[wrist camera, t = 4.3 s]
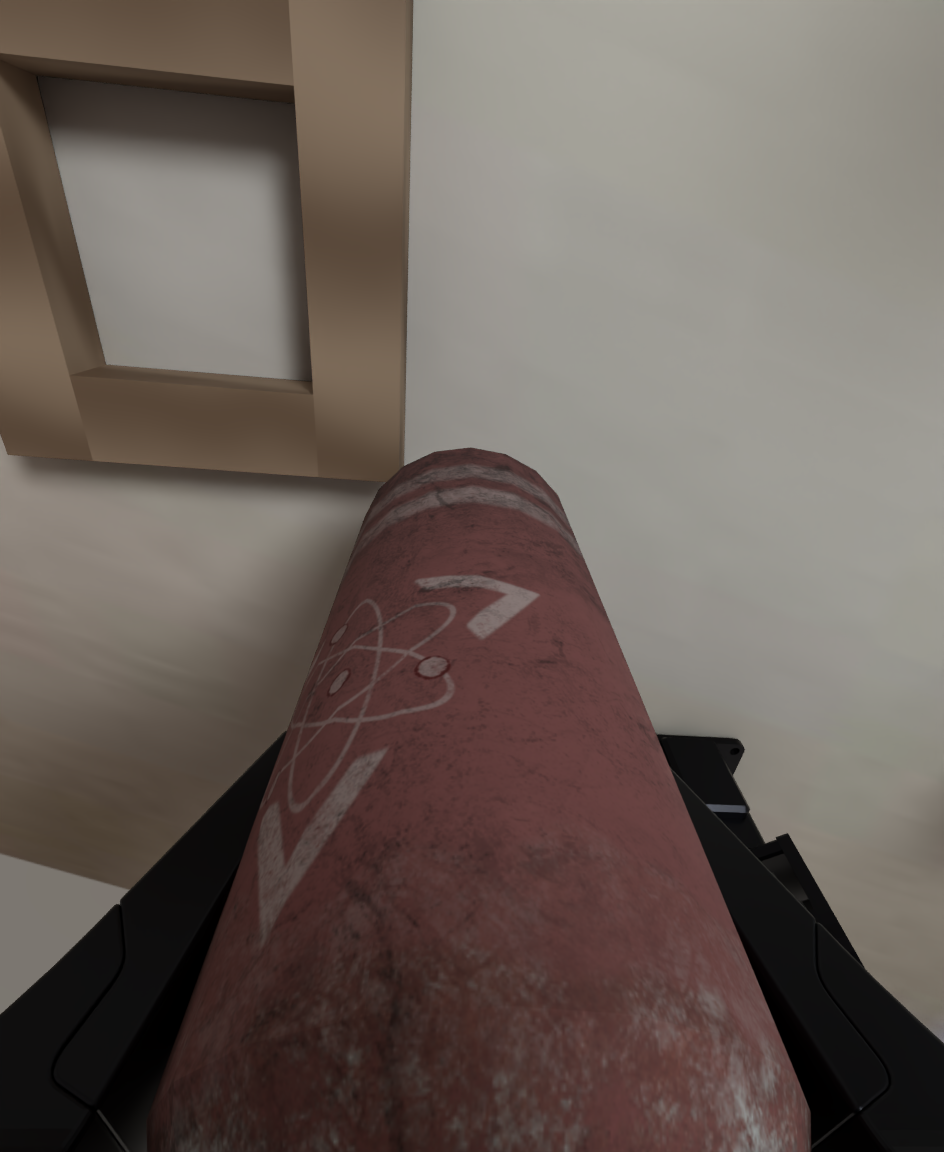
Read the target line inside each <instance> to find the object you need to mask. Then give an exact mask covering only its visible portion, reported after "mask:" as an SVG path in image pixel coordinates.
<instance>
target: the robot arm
mask: <svg viewBox="0 0 944 1152" xmlns="http://www.w3.org/2000/svg"><path fill="white" fill-rule="evenodd" d="M286 733H287V731H285V732H284V733H283V734H282V735H281V736H280V737H279V738H278V739H277V740H276V741H275V742H274V743H273V744H272V745H271V746H270V747H269V748H268V749H267V750H266V751H265V752H264V753H263V754H262V755H261V756H260V757H259V758H258V759H257V760H256V761H255V762H254V763H253V764H252V765H251V766H250V767H249V769H248V770H247V771H246V772H245V773H244V774H243V775H242V776H241V777H240V778H239V779H238V780H237V781H236V782H235V783H234V784H233V785H232V786H231V787H230V788H229V789H228V790H227V791H226V792H225V793H224V794H223V795H222V796H221V797H220V798H219V799H218V800H217V801H216V802H215V803H214V804H213V805H212V806H211V807H210V808H209V809H208V810H207V812H206V813H205V814H204V815H203V816H202V817H201V818H200V819H199V820H198V821H197V822H196V823H195V824H194V825H193V826H192V827H191V828H190V829H189V830H188V831H187V832H186V833H185V834H184V835H183V836H182V837H181V838H180V839H179V840H178V841H177V842H176V843H175V844H174V845H173V846H172V847H171V848H170V849H169V850H168V851H167V852H166V853H165V855H164V856H163V857H162V858H161V859H160V860H159V861H158V862H157V863H156V864H155V865H154V866H153V867H152V868H151V869H150V870H149V871H148V872H147V873H146V874H145V875H144V876H143V877H142V878H141V879H140V880H139V881H138V882H137V883H136V884H135V885H134V886H133V887H132V888H131V889H130V890H129V891H128V893H126V894H125V895H124V897H123V898H122V899H121V900H120V905H119V904H116V905H114V906H113V907H112V909H110V911H109V912H108V913H107V914H106V915H105V916H104V917H103V918H102V919H101V920H100V921H99V922H98V923H97V924H96V925H95V926H94V927H93V928H92V929H91V930H90V931H89V932H88V933H87V934H86V935H85V936H84V937H83V938H82V939H81V940H80V941H79V942H78V943H77V944H76V945H75V946H74V947H73V948H72V949H71V950H70V951H69V952H68V953H67V954H65V955H64V957H63V958H62V959H60V960H59V961H58V962H57V963H56V964H55V965H54V966H53V967H52V968H51V969H50V970H49V971H48V972H47V973H45V974H44V975H43V976H42V977H41V978H40V979H39V980H38V981H37V982H36V983H35V984H34V985H32V986H31V987H30V988H29V989H28V990H27V991H26V992H25V993H24V994H23V995H21V996H20V997H19V998H18V999H17V1000H16V1001H15V1002H14V1003H13V1004H12V1005H10V1006H9V1007H8V1008H7V1009H6V1010H5V1011H4V1012H3V1013H1V1014H0V1152H147V1130H146V1120H147V1117H148V1114H149V1111H150V1109H151V1106H152V1103H153V1100H154V1098H155V1095H156V1092H157V1089H158V1087H159V1084H160V1081H161V1078H162V1075H163V1073H164V1070H165V1067H166V1064H167V1062H168V1059H169V1056H170V1053H171V1051H172V1048H173V1045H174V1042H175V1040H176V1037H177V1034H178V1031H179V1029H180V1026H181V1023H182V1020H183V1018H184V1015H185V1012H186V1009H187V1006H188V1004H189V1001H190V998H191V995H192V993H193V990H194V987H195V984H196V982H197V979H198V976H199V973H200V971H201V968H202V965H203V962H204V960H205V957H206V954H207V951H208V948H209V946H210V943H211V940H212V937H213V935H214V932H215V929H216V926H217V924H218V921H219V918H220V915H221V913H222V910H223V907H224V904H225V902H226V899H227V897H228V894H229V892H230V889H231V887H232V884H233V881H234V879H235V876H236V873H237V870H238V868H239V865H240V862H241V859H242V856H243V853H244V850H245V847H246V844H247V841H248V838H249V835H250V833H251V830H252V827H253V824H254V821H255V819H256V816H257V813H258V810H259V808H260V805H261V802H262V799H263V797H264V794H265V791H266V788H267V786H268V783H269V780H270V777H271V775H272V772H273V769H274V766H275V764H276V761H277V758H278V755H279V752H280V750H281V747H282V744H283V741H284V739H285V736H286ZM657 738H658V740H659V743H660V745H661V748H662V750H663V752H664V755H665V757H666V760H667V762H668V765H669V767H670V769H671V772H672V774H673V777H674V779H675V782H676V784H677V786H678V789H679V791H680V794H681V796H682V799H683V801H684V804H685V806H686V808H687V811H688V813H689V816H690V818H691V821H692V823H693V825H694V828H695V830H696V833H697V835H698V838H699V840H700V842H701V845H702V847H703V850H704V852H705V855H706V857H707V859H708V862H709V864H710V867H711V869H712V872H713V874H714V877H715V879H716V881H717V884H718V886H719V889H720V891H721V894H722V896H723V898H724V901H725V903H726V906H727V908H728V911H729V913H730V915H731V918H732V920H733V923H734V925H735V928H736V930H737V932H738V935H739V937H740V940H741V942H742V945H743V947H744V949H745V952H746V954H747V957H748V959H749V962H750V964H751V967H752V969H753V971H754V974H755V976H756V979H757V981H758V984H759V986H760V988H761V991H762V993H763V996H764V998H765V1001H766V1003H767V1005H768V1008H769V1010H770V1013H771V1015H772V1018H773V1020H774V1022H775V1025H776V1027H777V1030H778V1032H779V1035H780V1037H781V1040H782V1042H783V1044H784V1047H785V1049H786V1052H787V1054H788V1057H789V1059H790V1061H791V1064H792V1066H793V1069H794V1071H795V1074H796V1076H797V1079H798V1081H799V1084H800V1086H801V1089H802V1091H803V1094H804V1096H805V1099H806V1102H807V1104H808V1107H809V1109H810V1112H811V1152H944V1043H943V1042H942V1041H941V1040H940V1039H939V1038H937V1037H936V1036H935V1035H934V1034H933V1033H932V1032H931V1031H930V1030H929V1029H928V1028H927V1027H925V1026H924V1025H923V1024H922V1023H921V1022H920V1021H919V1020H918V1019H917V1018H916V1017H915V1016H914V1015H913V1014H911V1013H910V1012H909V1011H908V1010H907V1009H906V1008H905V1007H904V1006H903V1005H902V1004H901V1003H900V1002H899V1001H898V1000H897V999H896V998H894V997H893V996H892V995H891V994H890V993H889V992H888V991H887V990H886V989H885V988H884V987H883V986H882V985H881V984H880V983H879V982H878V981H876V980H875V979H874V978H873V977H872V975H871V974H870V973H869V972H868V971H867V970H866V969H865V968H864V966H863V964H862V962H861V961H860V959H859V957H858V955H857V954H856V952H855V950H854V948H853V947H852V945H851V943H850V941H849V940H848V938H847V936H846V934H845V932H844V931H843V929H842V927H841V925H840V924H839V922H838V920H837V918H836V917H835V915H834V913H833V911H832V910H831V908H830V906H829V904H828V903H827V901H826V899H825V897H824V896H823V894H822V892H821V890H820V889H819V887H818V885H817V883H816V882H815V880H814V878H813V876H812V875H811V873H810V871H809V869H808V868H807V866H806V864H805V862H804V861H803V859H802V857H801V855H800V854H799V852H798V850H797V848H796V847H795V845H794V843H793V841H792V840H791V838H790V836H789V834H788V833H787V834H784V835H781V836H778V837H776V839H777V840H774V841H771V842H768V843H766V844H765V842H764V840H763V838H762V836H761V834H760V832H759V830H758V828H757V827H756V825H755V823H754V821H753V819H752V817H751V815H750V813H749V811H750V808H749V806H748V804H747V802H746V800H745V798H744V796H743V794H742V792H741V791H740V789H739V787H738V785H737V783H736V781H735V779H734V777H733V774H734V772H735V770H736V768H737V766H738V764H739V762H740V759H741V757H742V755H743V753H744V750H745V749H744V747H743V745H742V743H741V742H740V741H739V740H738V739H732V738H711V737H690V736H670V735H657Z"/></svg>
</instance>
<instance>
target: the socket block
mask: <svg viewBox="0 0 944 1152" xmlns="http://www.w3.org/2000/svg"><path fill="white" fill-rule="evenodd" d="M412 40H413V0H0V434H1V437H2V440H3V443H4V445H5V448H6V451H7V454H8V455H18V456H32V457H45V458H59V459H73V460H87V461H101V462H115V463H128V464H142V465H156V466H170V467H184V468H197V469H211V470H225V471H239V472H253V473H267V474H280V475H294V476H308V477H322V478H336V479H350V480H363V481H377V482H387V481H388V480H389V479H390V478H391V477H392V476H394V475H395V474H396V473H397V472H398V471H399V470H400V469H401V468H402V467H403V466H404V441H405V391H406V341H407V291H408V241H409V191H410V141H411V91H412ZM36 75H38V76H47V77H56V78H65V79H74V80H83V81H93V82H102V83H111V84H120V85H129V86H138V87H147V88H157V89H166V90H175V91H184V92H193V93H202V94H212V95H221V96H230V97H239V98H248V99H257V100H266V101H276V102H285V103H294V104H295V111H296V127H297V143H298V159H299V175H300V191H301V207H302V223H303V238H304V254H305V270H306V286H307V302H308V318H309V334H310V350H311V366H312V382H311V381H298V380H286V379H274V378H262V377H249V376H237V375H225V374H213V373H201V372H188V371H176V370H164V369H152V368H139V367H127V366H115V365H106V363H105V359H104V355H103V351H102V347H101V342H100V338H99V334H98V330H97V326H96V322H95V318H94V313H93V309H92V305H91V301H90V297H89V293H88V289H87V285H86V280H85V276H84V272H83V268H82V264H81V260H80V256H79V252H78V247H77V243H76V239H75V235H74V231H73V227H72V223H71V219H70V214H69V210H68V206H67V202H66V198H65V194H64V190H63V185H62V181H61V177H60V173H59V169H58V165H57V161H56V157H55V152H54V148H53V144H52V140H51V136H50V132H49V128H48V124H47V119H46V115H45V111H44V107H43V103H42V99H41V95H40V91H39V86H38V82H37V78H36Z"/></svg>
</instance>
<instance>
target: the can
mask: <svg viewBox="0 0 944 1152" xmlns="http://www.w3.org/2000/svg"><path fill="white" fill-rule="evenodd" d="M146 1130H147V1152H811V1112H810V1109H809V1107H808V1104H807V1102H806V1099H805V1096H804V1094H803V1091H802V1089H801V1086H800V1084H799V1081H798V1079H797V1076H796V1074H795V1071H794V1069H793V1066H792V1064H791V1061H790V1059H789V1057H788V1054H787V1052H786V1049H785V1047H784V1044H783V1042H782V1040H781V1037H780V1035H779V1032H778V1030H777V1027H776V1025H775V1022H774V1020H773V1018H772V1015H771V1013H770V1010H769V1008H768V1005H767V1003H766V1001H765V998H764V996H763V993H762V991H761V988H760V986H759V984H758V981H757V979H756V976H755V974H754V971H753V969H752V967H751V964H750V962H749V959H748V957H747V954H746V952H745V949H744V947H743V945H742V942H741V940H740V937H739V935H738V932H737V930H736V928H735V925H734V923H733V920H732V918H731V915H730V913H729V911H728V908H727V906H726V903H725V901H724V898H723V896H722V894H721V891H720V889H719V886H718V884H717V881H716V879H715V877H714V874H713V872H712V869H711V867H710V864H709V862H708V859H707V857H706V855H705V852H704V850H703V847H702V845H701V842H700V840H699V838H698V835H697V833H696V830H695V828H694V825H693V823H692V821H691V818H690V816H689V813H688V811H687V808H686V806H685V804H684V801H683V799H682V796H681V794H680V791H679V789H678V786H677V784H676V782H675V779H674V777H673V774H672V772H671V769H670V767H669V765H668V762H667V760H666V757H665V755H664V752H663V750H662V748H661V745H660V743H659V740H658V738H657V735H656V733H655V731H654V728H653V726H652V723H651V721H650V718H649V716H648V714H647V711H646V709H645V706H644V704H643V701H642V699H641V696H640V694H639V692H638V689H637V687H636V684H635V682H634V679H633V677H632V675H631V672H630V670H629V667H628V665H627V662H626V660H625V658H624V655H623V653H622V650H621V648H620V645H619V643H618V641H617V638H616V636H615V633H614V631H613V628H612V626H611V623H610V621H609V619H608V616H607V614H606V611H605V609H604V606H603V604H602V602H601V599H600V597H599V594H598V592H597V589H596V587H595V585H594V582H593V580H592V577H591V575H590V572H589V570H588V568H587V565H586V563H585V560H584V558H583V555H582V553H581V551H580V548H579V546H578V543H577V541H576V538H575V536H574V533H573V531H572V529H571V526H570V524H569V521H568V519H567V516H566V514H565V512H564V509H563V507H562V504H561V502H560V499H559V497H558V495H557V494H556V493H555V492H554V490H553V489H552V488H551V487H550V486H549V485H548V484H547V483H546V482H545V480H544V479H543V478H542V477H541V476H540V475H539V474H538V473H537V472H536V471H535V470H533V469H531V468H530V467H528V466H526V465H524V464H522V463H521V462H519V461H517V460H515V459H513V458H512V457H510V456H508V455H506V454H501V453H496V452H491V451H486V450H481V449H475V448H463V449H455V450H446V451H438V452H433V453H431V454H429V455H427V456H425V457H423V458H420V459H418V460H416V461H414V462H412V463H410V464H407V465H405V466H403V467H402V468H401V469H400V470H399V471H398V472H397V473H396V474H395V475H394V476H392V477H391V478H390V479H389V480H388V481H387V482H386V483H385V484H384V485H383V486H382V487H381V488H380V489H379V490H378V492H377V494H376V496H375V498H374V500H373V502H372V504H371V506H370V508H369V510H368V512H367V514H366V516H365V518H364V521H363V523H362V526H361V529H360V532H359V534H358V537H357V540H356V543H355V545H354V548H353V551H352V554H351V556H350V559H349V562H348V565H347V568H346V570H345V573H344V576H343V579H342V581H341V584H340V587H339V590H338V592H337V595H336V598H335V601H334V603H333V606H332V609H331V612H330V614H329V617H328V620H327V623H326V625H325V628H324V631H323V634H322V637H321V639H320V642H319V645H318V648H317V650H316V653H315V656H314V659H313V661H312V664H311V667H310V670H309V672H308V675H307V678H306V681H305V683H304V686H303V689H302V692H301V695H300V697H299V700H298V703H297V706H296V708H295V711H294V714H293V717H292V719H291V722H290V725H289V728H288V730H287V733H286V736H285V739H284V741H283V744H282V747H281V750H280V752H279V755H278V758H277V761H276V764H275V766H274V769H273V772H272V775H271V777H270V780H269V783H268V786H267V788H266V791H265V794H264V797H263V799H262V802H261V805H260V808H259V810H258V813H257V816H256V819H255V821H254V824H253V827H252V830H251V833H250V835H249V838H248V841H247V844H246V847H245V850H244V853H243V856H242V859H241V862H240V865H239V868H238V870H237V873H236V876H235V879H234V881H233V884H232V887H231V889H230V892H229V894H228V897H227V899H226V902H225V904H224V907H223V910H222V913H221V915H220V918H219V921H218V924H217V926H216V929H215V932H214V935H213V937H212V940H211V943H210V946H209V948H208V951H207V954H206V957H205V960H204V962H203V965H202V968H201V971H200V973H199V976H198V979H197V982H196V984H195V987H194V990H193V993H192V995H191V998H190V1001H189V1004H188V1006H187V1009H186V1012H185V1015H184V1018H183V1020H182V1023H181V1026H180V1029H179V1031H178V1034H177V1037H176V1040H175V1042H174V1045H173V1048H172V1051H171V1053H170V1056H169V1059H168V1062H167V1064H166V1067H165V1070H164V1073H163V1075H162V1078H161V1081H160V1084H159V1087H158V1089H157V1092H156V1095H155V1098H154V1100H153V1103H152V1106H151V1109H150V1111H149V1114H148V1117H147V1120H146Z"/></svg>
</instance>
